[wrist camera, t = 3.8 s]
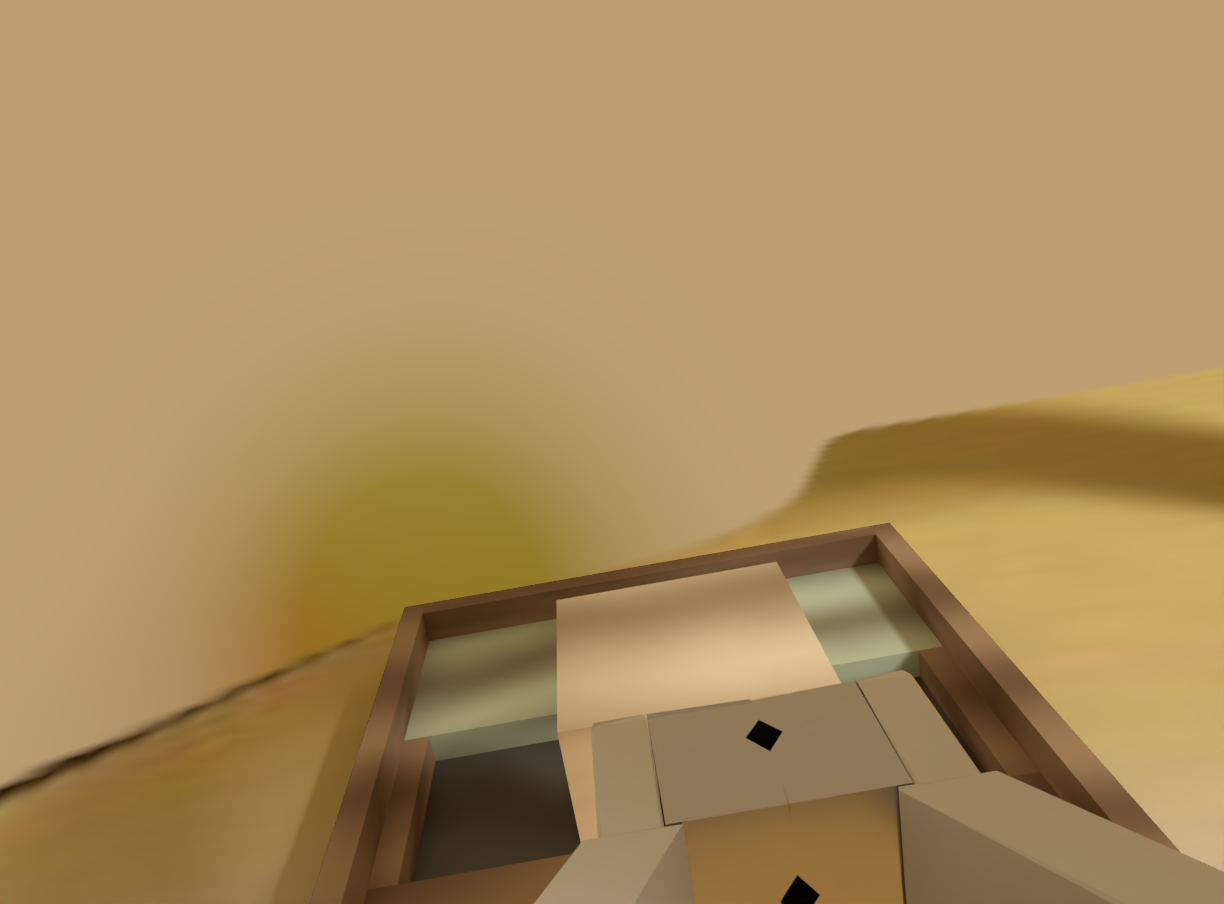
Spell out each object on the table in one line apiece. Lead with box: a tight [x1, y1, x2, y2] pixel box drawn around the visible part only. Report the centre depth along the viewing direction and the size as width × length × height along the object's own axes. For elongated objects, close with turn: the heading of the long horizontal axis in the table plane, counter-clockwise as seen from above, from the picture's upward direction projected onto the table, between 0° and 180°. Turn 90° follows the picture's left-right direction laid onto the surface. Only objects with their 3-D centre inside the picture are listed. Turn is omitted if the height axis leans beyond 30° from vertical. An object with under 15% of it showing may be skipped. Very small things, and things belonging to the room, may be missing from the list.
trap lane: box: [310, 523, 1181, 904], centre depth 33 cm, size 29×24×3 cm
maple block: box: [556, 562, 841, 842], centre depth 24 cm, size 6×6×10 cm
